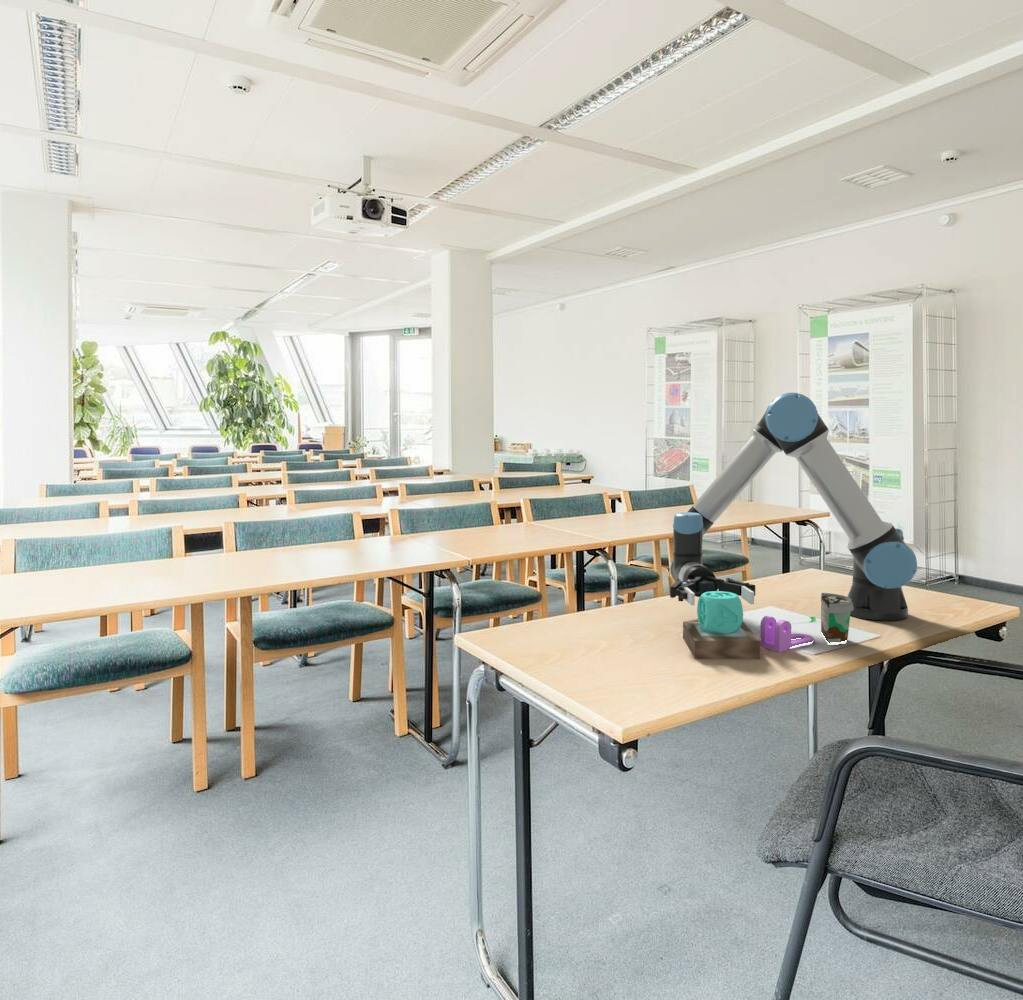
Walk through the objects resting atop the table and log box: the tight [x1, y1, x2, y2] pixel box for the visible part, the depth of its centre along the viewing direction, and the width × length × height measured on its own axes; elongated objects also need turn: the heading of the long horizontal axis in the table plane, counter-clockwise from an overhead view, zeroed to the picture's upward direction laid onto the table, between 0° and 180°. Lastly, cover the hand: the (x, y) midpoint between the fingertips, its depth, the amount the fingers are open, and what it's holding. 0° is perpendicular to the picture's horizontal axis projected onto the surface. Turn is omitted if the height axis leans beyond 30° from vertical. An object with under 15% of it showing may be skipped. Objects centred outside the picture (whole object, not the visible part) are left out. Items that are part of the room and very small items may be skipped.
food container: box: [820, 592, 854, 643], centre depth 176 cm, size 12×6×10 cm, turn 166°
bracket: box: [759, 615, 815, 653], centre depth 174 cm, size 13×6×7 cm, turn 119°
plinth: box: [682, 621, 761, 660], centre depth 172 cm, size 14×16×4 cm
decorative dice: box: [696, 590, 744, 634], centre depth 172 cm, size 8×8×8 cm
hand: (722, 598), depth 170 cm, fingers open, 13 cm apart
